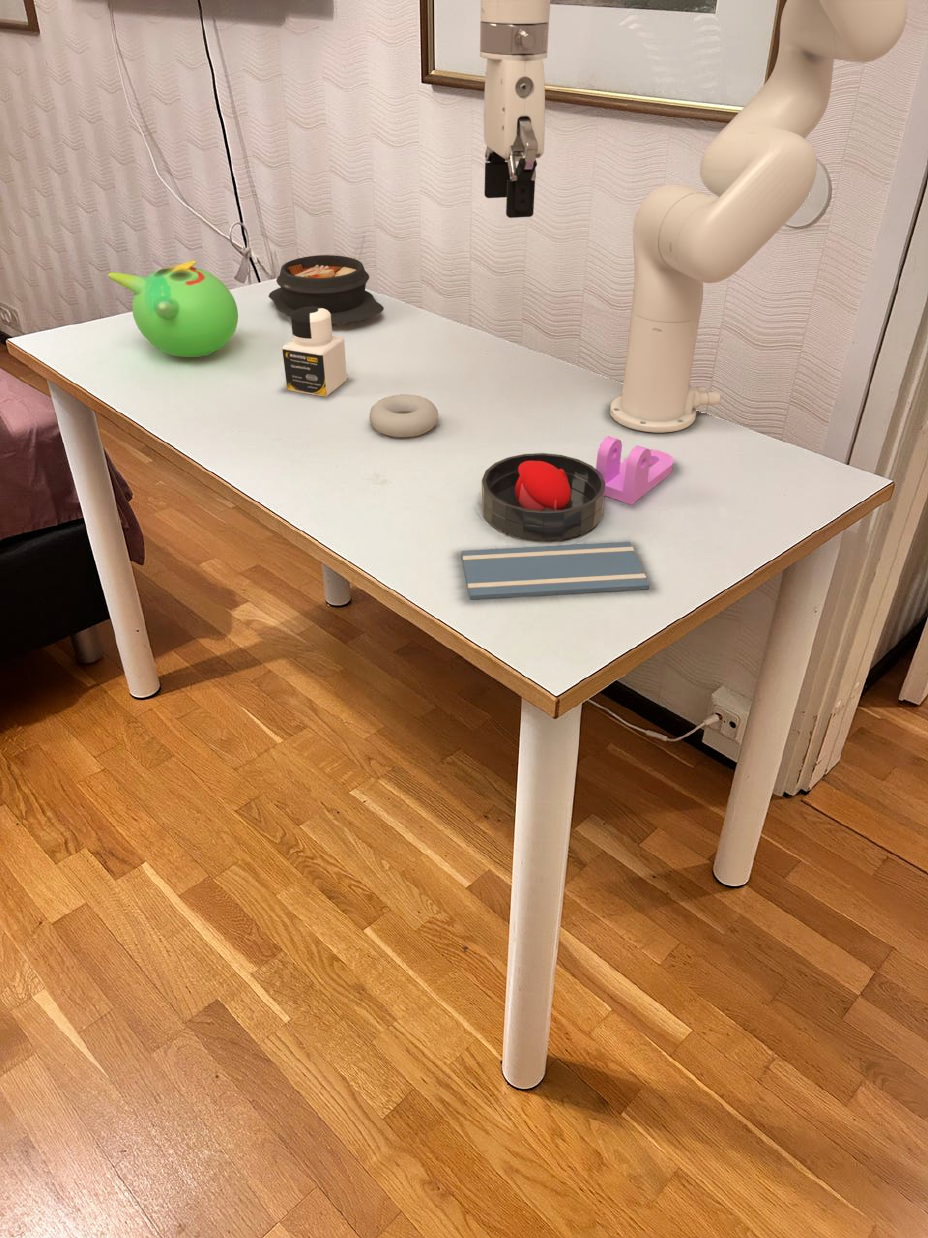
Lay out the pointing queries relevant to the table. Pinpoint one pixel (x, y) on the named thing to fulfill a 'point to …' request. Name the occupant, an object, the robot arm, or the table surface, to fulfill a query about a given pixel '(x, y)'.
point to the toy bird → (182, 309)
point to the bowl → (546, 524)
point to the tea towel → (552, 570)
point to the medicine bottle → (314, 354)
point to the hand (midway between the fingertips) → (508, 206)
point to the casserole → (326, 288)
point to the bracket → (631, 470)
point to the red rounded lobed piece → (542, 486)
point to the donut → (403, 415)
